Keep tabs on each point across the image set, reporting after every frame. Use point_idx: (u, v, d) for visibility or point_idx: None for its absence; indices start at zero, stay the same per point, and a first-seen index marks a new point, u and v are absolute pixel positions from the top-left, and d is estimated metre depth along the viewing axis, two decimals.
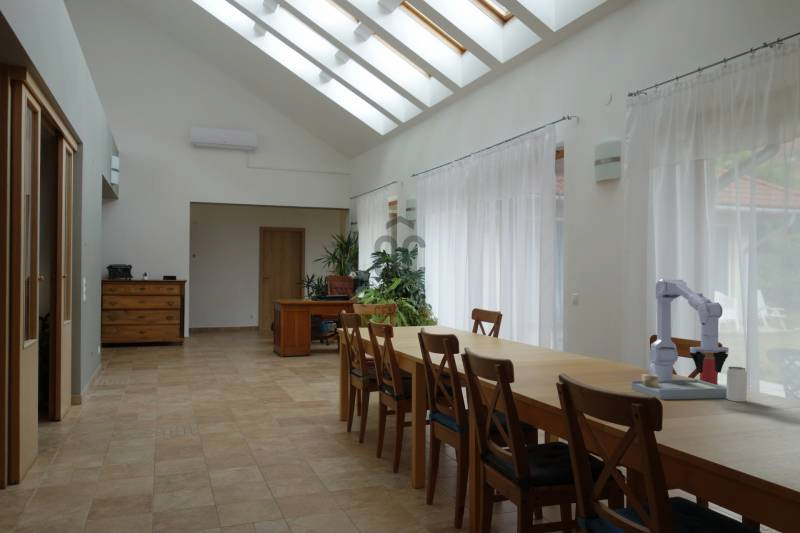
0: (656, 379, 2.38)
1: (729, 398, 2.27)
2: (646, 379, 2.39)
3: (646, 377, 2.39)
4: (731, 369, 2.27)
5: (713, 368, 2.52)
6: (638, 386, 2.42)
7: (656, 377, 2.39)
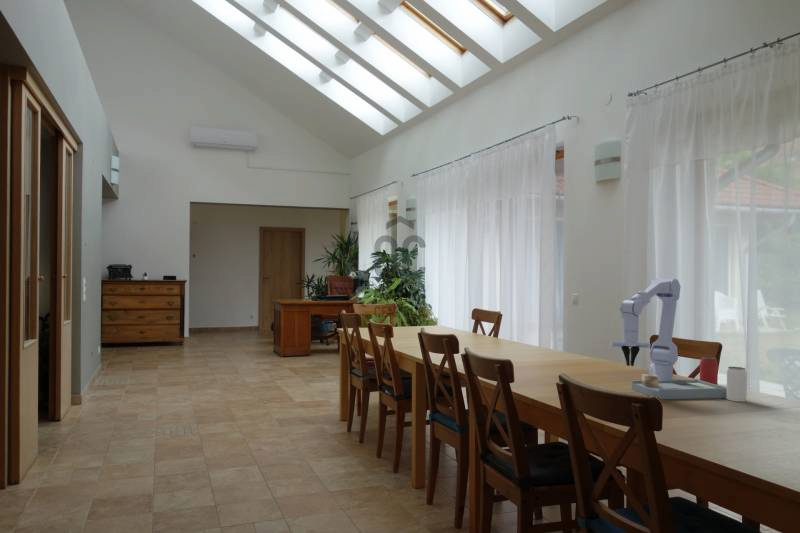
0: (656, 379, 2.38)
1: (729, 398, 2.27)
2: (646, 379, 2.39)
3: (646, 377, 2.39)
4: (731, 369, 2.27)
5: (713, 368, 2.52)
6: (638, 386, 2.42)
7: (656, 377, 2.39)
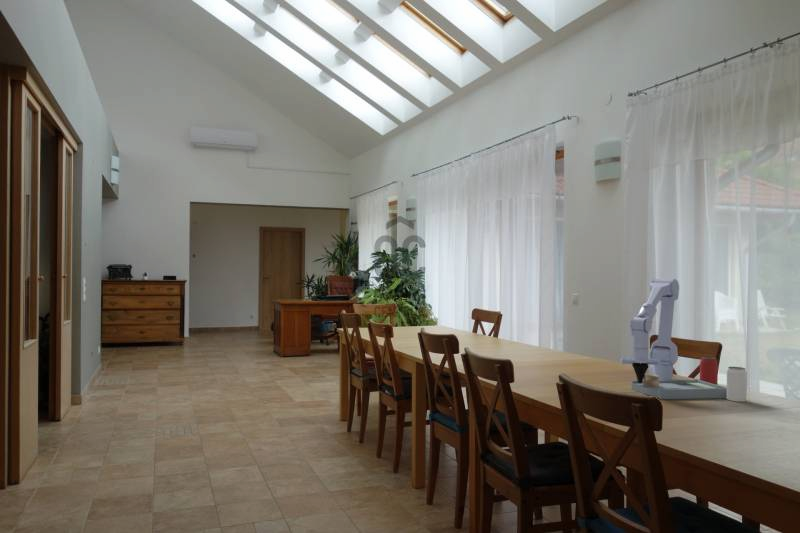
0: (657, 379, 2.38)
1: (729, 398, 2.27)
2: (646, 379, 2.39)
3: (647, 377, 2.39)
4: (731, 369, 2.27)
5: (713, 368, 2.52)
6: (638, 386, 2.42)
7: (657, 377, 2.38)
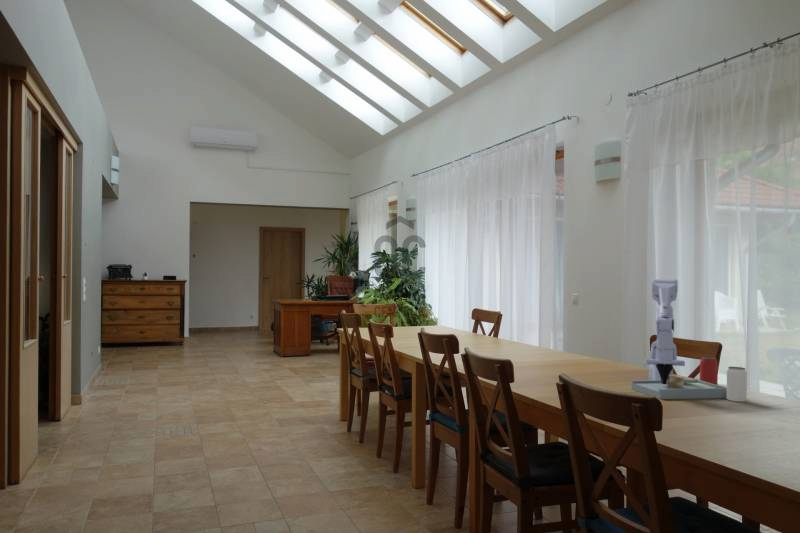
0: (681, 380, 2.37)
1: (729, 398, 2.27)
2: (671, 381, 2.38)
3: (671, 378, 2.37)
4: (731, 369, 2.27)
5: (713, 368, 2.52)
6: (638, 386, 2.42)
7: (681, 378, 2.37)
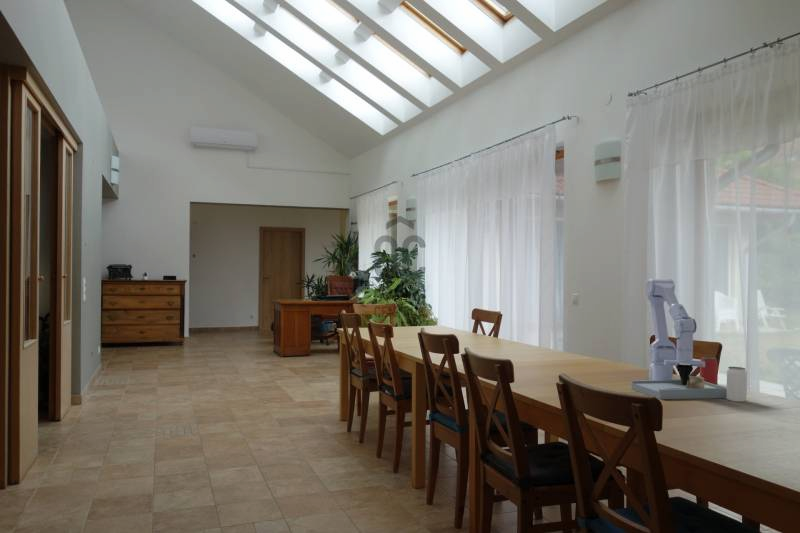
0: (702, 381, 2.36)
1: (729, 398, 2.27)
2: (691, 381, 2.36)
3: (692, 379, 2.36)
4: (731, 369, 2.27)
5: (713, 368, 2.52)
6: (638, 386, 2.42)
7: (702, 379, 2.36)
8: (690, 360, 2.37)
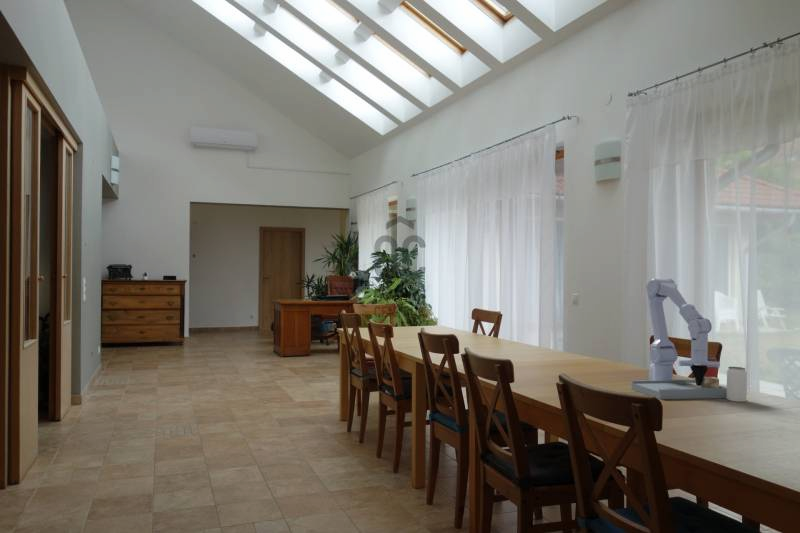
0: (717, 382, 2.35)
1: (729, 398, 2.27)
2: (706, 382, 2.36)
3: (706, 380, 2.36)
4: (731, 369, 2.27)
5: (713, 368, 2.52)
6: (638, 386, 2.42)
7: (717, 380, 2.35)
8: (705, 361, 2.36)
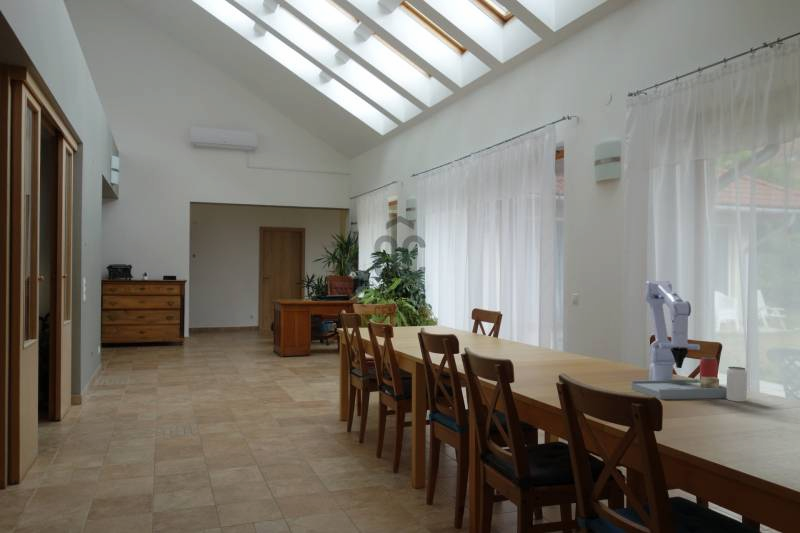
0: (717, 382, 2.35)
1: (729, 398, 2.27)
2: (706, 382, 2.36)
3: (706, 380, 2.36)
4: (731, 369, 2.27)
5: (713, 368, 2.52)
6: (638, 386, 2.42)
7: (717, 380, 2.35)
8: (685, 343, 2.37)
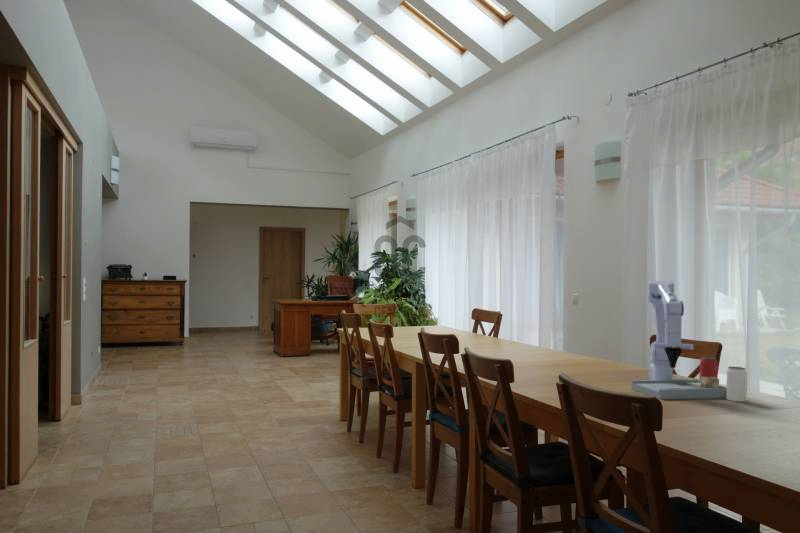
0: (717, 382, 2.35)
1: (729, 398, 2.27)
2: (706, 382, 2.36)
3: (706, 380, 2.36)
4: (731, 369, 2.27)
5: (713, 368, 2.52)
6: (638, 386, 2.42)
7: (717, 380, 2.35)
8: (678, 343, 2.38)
